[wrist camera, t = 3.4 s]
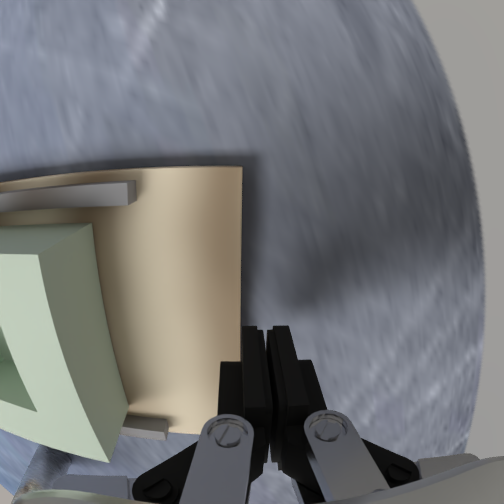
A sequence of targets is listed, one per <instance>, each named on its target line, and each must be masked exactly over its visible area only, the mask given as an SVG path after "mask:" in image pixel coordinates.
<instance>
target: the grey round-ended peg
mask: <svg viewBox="0 0 504 504" xmlns="http://www.w3.org/2000/svg"><path fill="white" fill-rule="evenodd" d="M70 465H71V459H70V458H69V456H68V455H67V454H66V453H64V452H63V451H61V450H58V449H54V448H51V447H48V446H45V445H42V444H39V446H38V448H37V450H36V452H35V454H34V456H33V458H32V460H31V462H30V464H29V466H28V468H27V470H26V472H25V474H24V476H23V478H22V480H21V483H20V485H19V487H18V489H17V491H16V493H15V495H14V498H13V500H12V502H11V504H12V503H13V502H14V501H15V500H16V499H17V498H19V497H20V496H21V495H23V494H26V493H29V492H33V491H39V490H51V489H52V486H53V483H54V481H55V480H56V479H57V478H58V477H61V476H63V475H67V472H68V470H69V467H70Z"/></svg>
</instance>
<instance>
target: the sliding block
mask: <svg viewBox="0 0 504 504" xmlns="http://www.w3.org/2000/svg"><path fill="white" fill-rule="evenodd" d="M128 409H129V405H128V402H127V398H126V395H125V392H124V388H123V385H122V381H121V378H120V374H119V370H118V367H117V363H116V359H115V355H114V351H113V347H112V342H111V338H110V334H109V329H108V324H107V320H106V315H105V310H104V304H103V299H102V293H101V287H100V281H99V275H98V268H97V261H96V254H95V246H94V237H93V228H92V223H62V224H34V225H11V226H0V429H3V430H5V431H7V432H10V433H12V434H15V435H17V436H20V437H23V438H25V439H28V440H31V441H33V442H36V443H39V444H42V445H45V446H48V447H51V448H54V449H58V450H61V451H64V452H68V453H71V454H75V455H79V456H82V457H86V458H90V459H95V460H99V461H103V462H108V463H110V460H111V457H112V454H113V451H114V449H115V446H116V443H117V440H118V437H119V434H120V431H121V428H122V425H123V423H124V420H125V417H126V414H127V411H128Z"/></svg>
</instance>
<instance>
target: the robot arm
mask: <svg viewBox="0 0 504 504" xmlns="http://www.w3.org/2000/svg"><path fill="white" fill-rule="evenodd" d="M269 443H270V452H271V461H272V463H273V462H278V470H282V471H283V473H285V474H286V475H288V476H289V477H291V481H292V485H293V488H294V491H295V494H296V496H297V499H298V502H299V504H504V456H501V457H492V458H486V459H481V460H480V459H478V457H476V456H475V455H472V454H466V453H464V454H457V455H450V456H442V457H434V458H424V459H418V461H417V462H413V461H411V460H409V459H407V458H405V457H403V456H400V455H398V454H396V453H393V452H391V451H389V450H386V449H384V448H382V447H380V446H377V445H375V444H373V443H371V442H369V441H366V440H364V439H362V438H360V436H359V434H358V432H357V431H356V429H355V427H354V426H353V424H352V422H351V421H350V420H349V418H348V417H347V416H345V415H344V414H342V413H340V412H337V411H333V410H327V407H326V404H325V401H324V398H323V394H322V391H321V388H320V385H319V382H318V378H317V375H316V372H315V369H314V366H313V363H312V361H311V360H298V359H297V355H296V351H295V347H294V344H293V340H292V336H291V332H290V329H289V326H273V330H267V341H266V349H265V341H264V334H263V330H257V326H242V361H221V362H220V376H219V392H218V410H217V416H215V417H213V418H211V419H209V420H208V421H207V422H206V423H205V424H204V426H203V428H202V430H201V433H200V437H199V440H198V441H197V442H195V443H194V444H192V445H191V446H189V447H188V448H186V449H184V450H183V451H181V452H179V453H178V454H176V455H174V456H173V457H171V458H169V459H168V460H166V461H164V462H163V463H161V464H159V465H157V466H156V467H154V468H152V469H150V470H149V471H147V472H145V473H143V474H142V475H140V476H139V477H138V478H127V476H94V475H74V474H68V475H63V476H61V477H58V478H57V479H56V480H55V481H54V483H53V486H52V489H51V490H39V491H33V492H29V493H26V494H23V495H21V496H20V497H19V498H17V499H16V500H15V501H14V502H13V503H12V504H249V498H250V491H251V483H252V482H253V481H254V480H255V479H256V478H258V477H259V476H260V475H261V474H262V473H263V464H264V463H267V459H268V450H269Z"/></svg>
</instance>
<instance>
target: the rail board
mask: <svg viewBox="0 0 504 504" xmlns="http://www.w3.org/2000/svg"><path fill="white" fill-rule="evenodd" d="M241 219H242V166H172V167H146V168H128V169H112V170H99V171H87V172H77V173H67V174H58V175H49V176H41V177H33V178H26V179H19V180H12V181H5V182H0V226H11V225H34V224H62V223H92V228H93V237H94V246H95V254H96V261H97V268H98V275H99V281H100V287H101V293H102V299H103V304H104V310H105V315H106V320H107V324H108V329H109V334H110V338H111V342H112V347H113V351H114V355H115V359H116V363H117V367H118V370H119V374H120V378H121V381H122V385H123V388H124V392H125V395H126V398H127V402H128V405H129V409H128V411H127V414H126V417H125V420H124V423H123V425H122V428H121V431H120V435H126V436H132V437H139V438H146V439H154V440H163V441H166V439H167V435H168V432H175V433H187V434H200V433H201V430H202V428H203V426H204V424H205V423H206V422H207V421H208V420H209V419H211V418H213V417H215V416H217V410H218V392H219V376H220V362H221V361H240V307H241Z"/></svg>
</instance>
